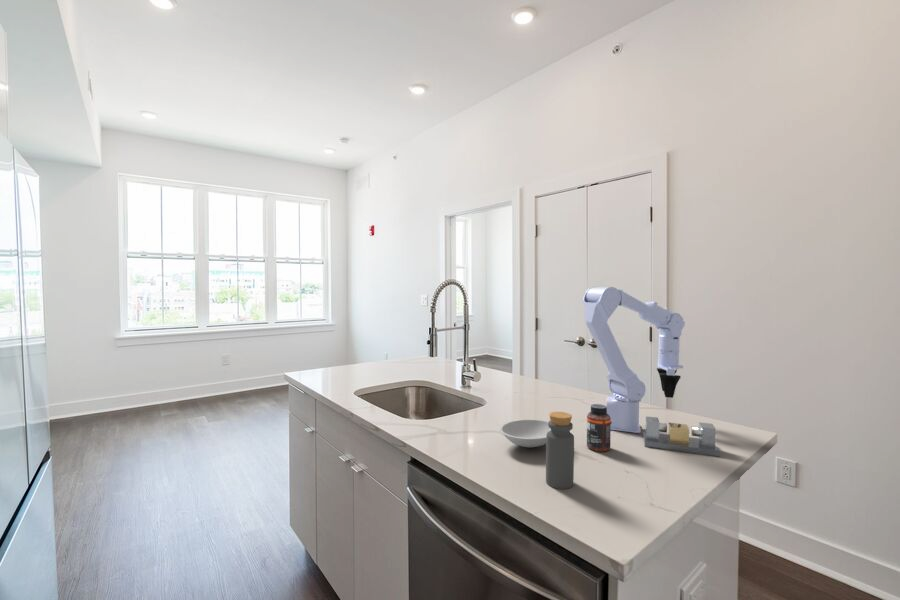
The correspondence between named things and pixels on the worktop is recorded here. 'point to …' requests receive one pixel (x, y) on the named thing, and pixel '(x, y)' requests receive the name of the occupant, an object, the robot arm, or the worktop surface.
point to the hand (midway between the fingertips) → (667, 394)
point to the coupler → (678, 433)
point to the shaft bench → (696, 445)
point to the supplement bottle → (598, 428)
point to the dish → (526, 432)
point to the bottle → (560, 451)
